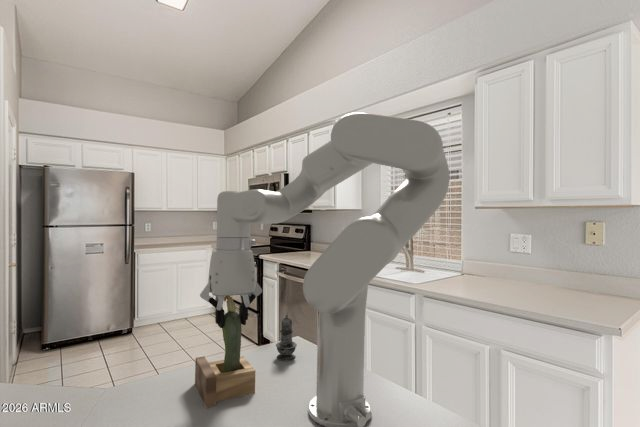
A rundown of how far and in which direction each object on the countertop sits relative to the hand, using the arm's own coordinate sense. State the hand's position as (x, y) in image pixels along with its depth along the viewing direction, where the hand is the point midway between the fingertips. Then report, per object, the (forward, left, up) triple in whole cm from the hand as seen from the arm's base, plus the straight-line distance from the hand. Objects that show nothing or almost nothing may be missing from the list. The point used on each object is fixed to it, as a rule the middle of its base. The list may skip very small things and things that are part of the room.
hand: (231, 324), depth 81 cm
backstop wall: (0, +6, -15) cm, 16 cm away
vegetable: (0, 0, -14) cm, 14 cm away
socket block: (0, 0, -15) cm, 15 cm away
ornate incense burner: (+11, -19, -15) cm, 26 cm away
